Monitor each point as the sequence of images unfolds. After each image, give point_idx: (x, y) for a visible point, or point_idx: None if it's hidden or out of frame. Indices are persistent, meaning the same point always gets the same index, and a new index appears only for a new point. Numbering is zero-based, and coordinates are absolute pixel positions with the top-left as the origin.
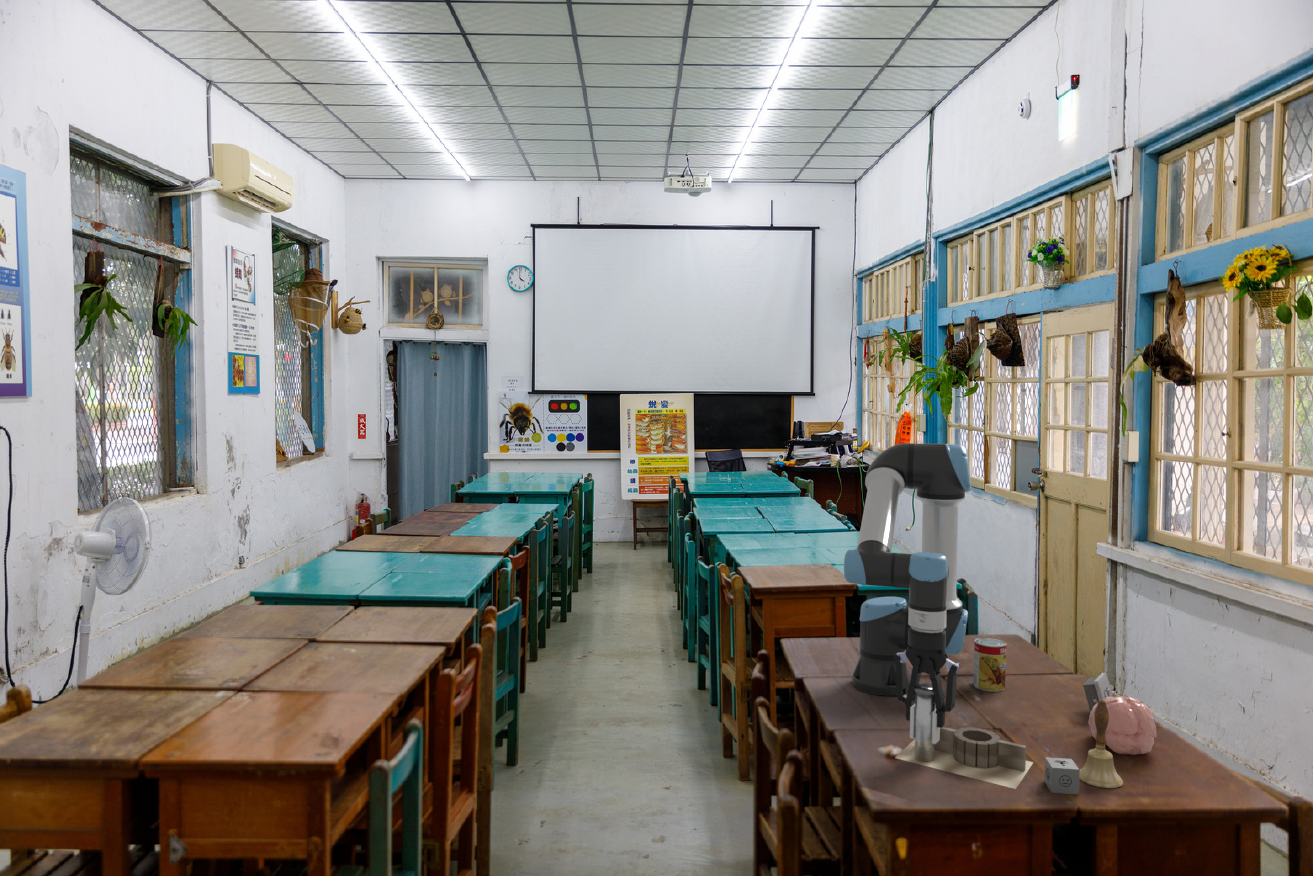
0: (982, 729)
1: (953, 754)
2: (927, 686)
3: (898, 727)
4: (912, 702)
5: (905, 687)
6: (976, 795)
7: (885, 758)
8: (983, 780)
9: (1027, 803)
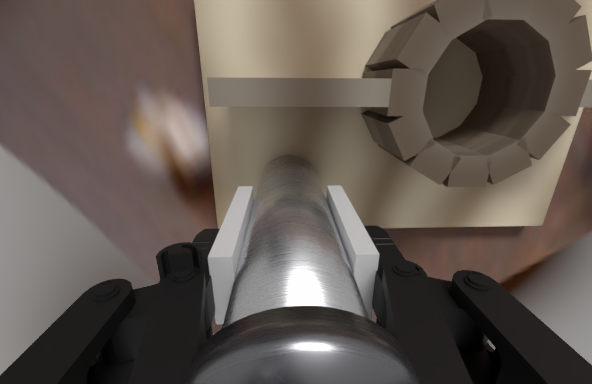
0: None
1: (366, 120)
2: None
3: None
4: (208, 314)
5: (82, 377)
6: (442, 267)
7: (185, 206)
8: (463, 226)
9: (552, 240)
